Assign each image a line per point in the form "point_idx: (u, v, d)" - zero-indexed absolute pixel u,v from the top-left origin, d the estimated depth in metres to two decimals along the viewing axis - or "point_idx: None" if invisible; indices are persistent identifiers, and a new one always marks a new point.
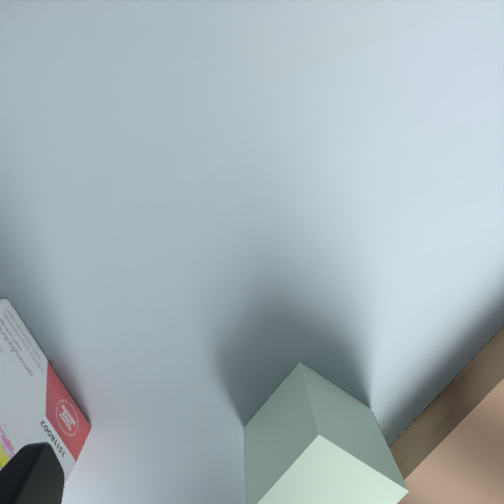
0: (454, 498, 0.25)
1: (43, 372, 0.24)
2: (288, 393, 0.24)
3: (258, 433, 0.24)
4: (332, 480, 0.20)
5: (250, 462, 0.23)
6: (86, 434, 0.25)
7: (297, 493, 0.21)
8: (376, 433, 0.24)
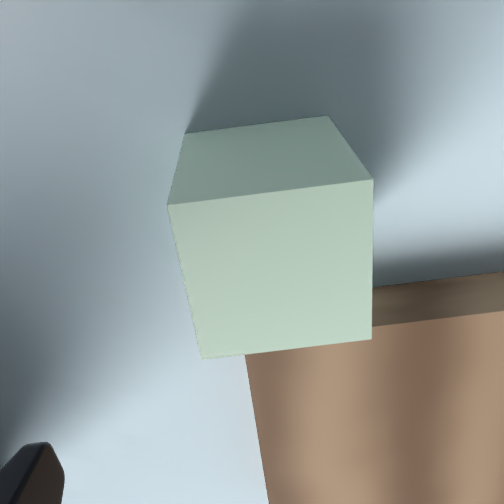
0: (332, 388, 0.20)
1: None
2: (297, 131, 0.15)
3: (217, 145, 0.15)
4: (317, 255, 0.12)
5: (192, 163, 0.14)
6: None
7: (260, 234, 0.12)
8: None
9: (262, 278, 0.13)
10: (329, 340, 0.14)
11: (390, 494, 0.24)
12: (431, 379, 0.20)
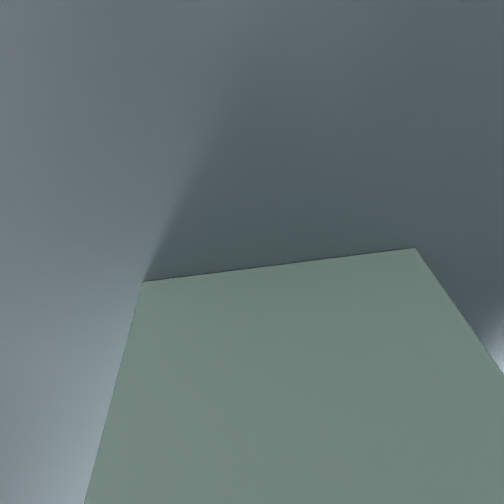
0: None
1: None
2: (367, 302, 0.08)
3: (203, 340, 0.07)
4: None
5: (141, 417, 0.06)
6: None
7: None
8: None
9: None
10: None
11: None
12: None
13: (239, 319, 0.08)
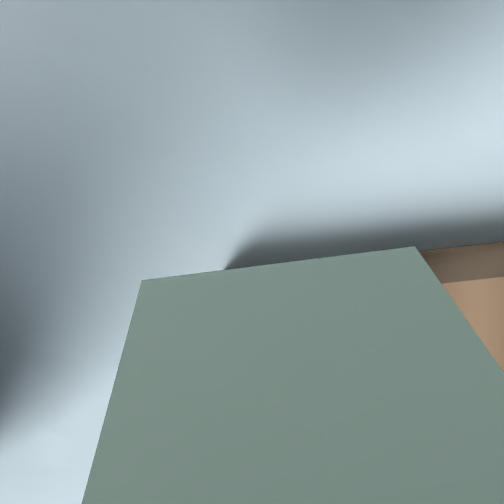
0: None
1: None
2: (366, 300, 0.08)
3: (202, 338, 0.07)
4: None
5: (139, 415, 0.06)
6: None
7: None
8: None
9: None
10: None
11: None
12: None
13: (238, 317, 0.08)
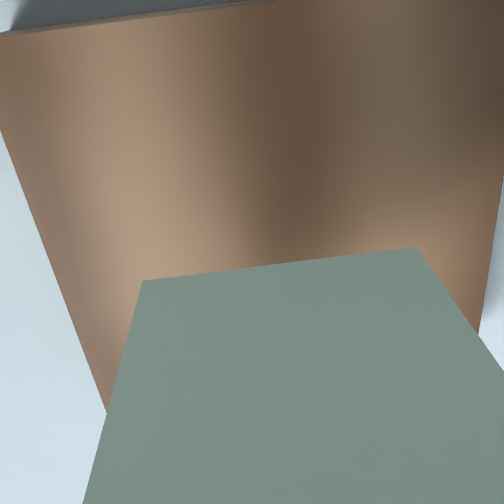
0: (140, 148, 0.12)
1: None
2: (368, 300, 0.08)
3: (203, 339, 0.07)
4: None
5: (140, 416, 0.06)
6: None
7: None
8: None
9: None
10: None
11: None
12: (298, 135, 0.12)
13: (239, 318, 0.08)
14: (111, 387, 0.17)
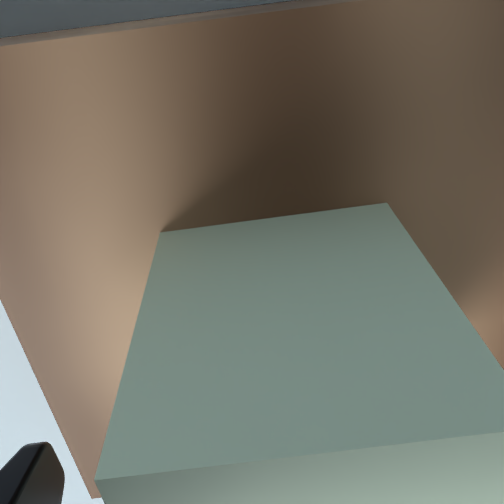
0: (116, 190, 0.10)
1: None
2: (343, 241, 0.09)
3: (211, 270, 0.09)
4: None
5: (163, 319, 0.08)
6: None
7: None
8: None
9: None
10: None
11: None
12: (311, 174, 0.10)
13: (239, 255, 0.09)
14: (89, 457, 0.14)
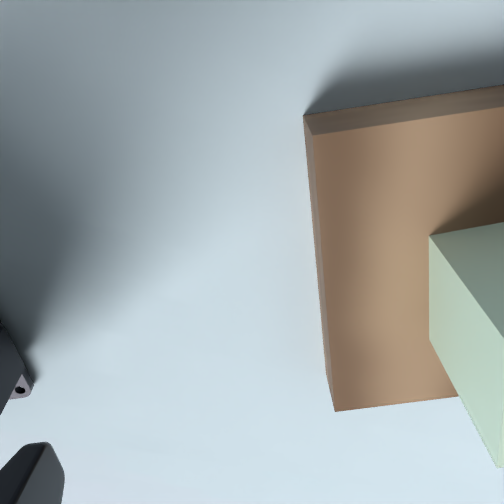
0: (414, 203, 0.17)
1: None
2: None
3: (484, 255, 0.16)
4: None
5: (479, 282, 0.15)
6: None
7: None
8: None
9: None
10: None
11: None
12: None
13: (496, 246, 0.16)
14: (343, 380, 0.21)
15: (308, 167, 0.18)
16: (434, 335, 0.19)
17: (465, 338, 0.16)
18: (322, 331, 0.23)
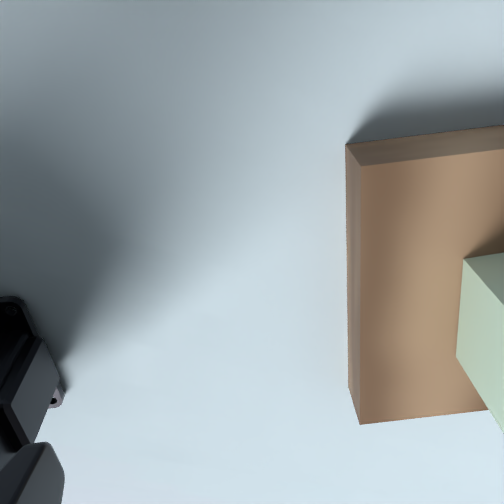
0: (449, 231, 0.18)
1: None
2: None
3: None
4: None
5: None
6: None
7: None
8: None
9: None
10: None
11: None
12: None
13: None
14: (370, 394, 0.22)
15: (347, 193, 0.19)
16: (463, 353, 0.20)
17: (503, 358, 0.17)
18: (348, 347, 0.24)
